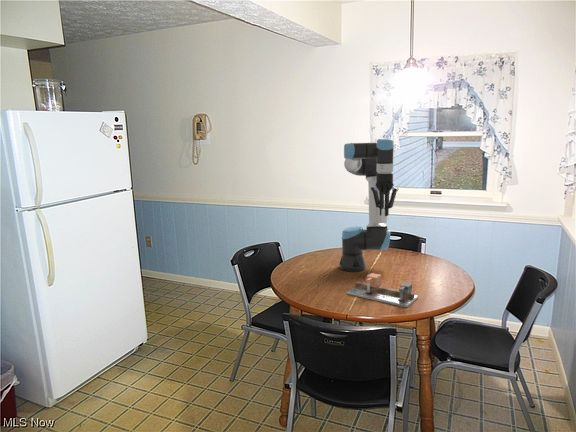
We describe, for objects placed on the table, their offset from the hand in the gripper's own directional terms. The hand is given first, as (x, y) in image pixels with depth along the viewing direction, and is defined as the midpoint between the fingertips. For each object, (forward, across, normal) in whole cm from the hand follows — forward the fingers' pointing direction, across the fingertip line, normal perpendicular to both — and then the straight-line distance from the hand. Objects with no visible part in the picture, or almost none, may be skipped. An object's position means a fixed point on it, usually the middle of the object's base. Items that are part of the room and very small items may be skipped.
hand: (384, 222), depth 201 cm
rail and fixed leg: (+33, +2, -6) cm, 34 cm away
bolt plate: (+34, +2, -6) cm, 35 cm away
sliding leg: (+33, -3, -6) cm, 33 cm away
